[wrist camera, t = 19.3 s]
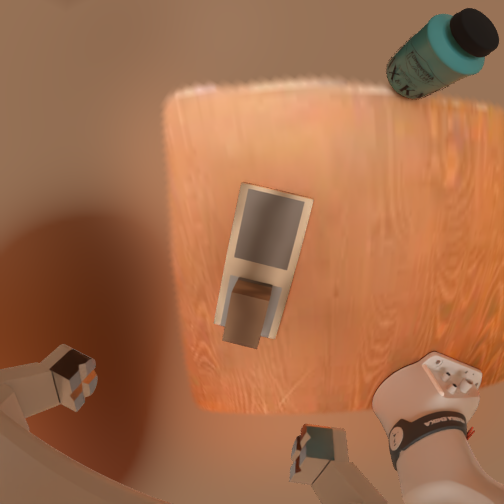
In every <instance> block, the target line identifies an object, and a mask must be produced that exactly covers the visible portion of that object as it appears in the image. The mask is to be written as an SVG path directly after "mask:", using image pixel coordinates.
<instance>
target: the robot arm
mask: <svg viewBox="0 0 504 504" xmlns="http://www.w3.org/2000/svg"><path fill="white" fill-rule="evenodd" d="M437 360H438V361H437ZM436 361H437V362H436ZM95 367H96V365H95V360H94V359H92V358H90V357H88V356H86V355H84V354H82V353H80V352H78V351H76V350H74V349H72V348H70V347H69V346H67V345H65V344H63V345H60V346H59V347H58V348H57V349H56V350H55V351H53V352H52V353H51V354H50V355H49V356H48V357H46V358H45V359H44V360H43V361H42V362H41V363H40V364H39V363H32V364H26V365H22V366H17V367H12V368H6V369H1V370H0V504H172V503H169V502H166V501H163V500H160V499H158V498H155V497H152V496H149V495H147V494H144V493H142V492H139V491H136V490H134V489H132V488H129V487H127V486H125V485H122V484H120V483H118V482H116V481H114V480H112V479H109V478H107V477H105V476H103V475H101V474H99V473H97V472H95V471H93V470H91V469H89V468H87V467H85V466H83V465H82V464H80V463H78V462H76V461H75V460H73V459H71V458H69V457H68V456H66V455H64V454H63V453H61V452H59V451H58V450H56V449H54V448H53V447H51V446H50V445H48V444H46V443H45V442H44V441H42V440H40V439H39V438H38V437H36V436H35V435H33V434H32V433H30V432H29V426H28V424H27V422H26V420H25V418H26V417H29V416H31V415H34V414H37V413H39V412H42V411H45V410H47V409H49V408H52V407H55V406H57V405H59V404H62V405H64V406H66V407H68V408H70V409H72V410H74V411H75V412H77V411H78V410H79V409H80V407H81V406H82V405H83V404H84V403H85V397H87V396H90V395H91V394H92V393H93V391H94V390H95V387H96V385H97V375H96V373H95V371H94V370H93V369H94V368H95ZM481 380H482V372H481V371H480V370H479V369H476V368H474V367H472V366H469V365H467V364H464V363H462V362H459V361H457V360H455V359H452V358H450V357H447V356H445V355H443V354H440V353H438V352H431V353H429V354H428V355H426V356H425V357H424V358H422V359H421V360H420V361H419V362H417V363H415V364H412V365H409V366H407V367H405V368H402V369H400V370H399V371H397V372H395V373H394V374H392V375H391V376H390V377H388V378H387V379H386V380H385V381H384V382H383V383H382V384H381V385H380V387H379V388H378V389H377V391H376V393H375V395H374V397H373V401H372V408H373V411H374V413H375V414H376V416H377V417H378V419H379V420H380V422H381V424H382V426H383V428H384V430H385V432H386V434H387V437H388V439H389V449H390V454H391V459H392V462H393V466H394V468H395V470H396V471H397V472H398V476H399V481H400V486H401V491H402V497H403V502H404V504H504V485H503V484H501V483H498V482H497V481H495V480H494V479H492V478H491V477H490V476H489V475H487V474H486V473H485V471H484V470H483V469H482V468H481V466H480V464H479V463H478V461H477V459H476V457H475V455H474V453H473V451H472V449H471V448H470V445H469V443H468V441H467V440H468V439H469V438H470V437H471V436H472V434H473V433H474V432H475V431H473V432H472V433H471V431H472V429H473V427H471V429H470V430H469V431H468V432H467V423H468V422H469V420H470V419H471V417H472V416H473V414H474V413H475V411H476V409H477V407H478V405H479V401H480V395H479V392H478V388H479V386H480V383H481ZM470 433H471V434H470ZM291 459H292V461H293V462H294V463H293V464H292V466H291V468H290V480H289V481H290V482H294V483H301V484H308V485H311V487H312V488H313V490H314V492H315V493H316V495H317V496H318V498H319V500H320V502H321V503H322V504H388V502H387V500H386V499H385V498H384V497H383V496H382V495H381V494H380V493H379V492H378V491H377V489H376V488H375V487H374V486H373V485H372V484H371V483H370V482H369V480H368V479H367V478H366V477H365V476H364V475H363V474H362V473H361V472H360V470H359V469H358V468H357V467H356V466H355V465H354V463H353V462H349V457H348V449H347V440H346V431H345V430H344V429H341V428H333V427H326V426H319V425H312V424H304V425H303V427H302V428H301V435H300V436H298V437H297V438H296V440H295V442H294V445H293V448H292V454H291Z"/></svg>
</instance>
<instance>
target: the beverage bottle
mask: <svg viewBox="0 0 504 504" xmlns="http://www.w3.org/2000/svg"><path fill="white" fill-rule="evenodd" d="M498 44H499V37H498V33H497V30H496V28H495V27H494V25H493V24H492V22H491V21H490V20H489V19H488V18H487V17H486V16H485V15H484V14H482V13H481V12H480V11H478V10H476V9H472V8H467V9H464V10H462V11H461V12H459V13H456V14H455V15H454V16H451V15H448V14H439V15H436V16H434V17H432V18H431V19H430V20H429V22H428V23H427V24H426V25H425V26H424V27H423V28H422V29H421V30H420V31H419V32H418V33H417V34H416V35H414V36H413V37H412V38H411V39H410V40H409V41H408V42H407V43H406V44H405V45H404V46H403V47H402V48H401V49H400V50H399V51H398V53H396V55H395V56H394V57H393V58H392V57H391V58H392V59H391V60H390V61H389V63H388V64H387V73H386V74H387V78H388V81H389V83H390V85H391V86H392V87H393V89H394V90H395V91H396V92H397V93H399V94H400V95H402V96H404V97H407V98H411V99H414V100H417V98H421V97H423V96H425V97H426V95H427V96H429V95H428V94H430V93H434V92H435V91H438V90H440V89H441V88H443V87H446V86H448V85H450V84H452V83H454V82H456V81H458V80H460V79H463V78H465V77H467V76H470V75H474V74H476V73H478V72H479V71H480V70H481V69H482V67H483V65H484V59H485V56H487V55H489V54H490V53H491V52H492V51H493V50H495V49H496V48H497V46H498ZM430 95H431V94H430ZM423 98H424V97H423Z"/></svg>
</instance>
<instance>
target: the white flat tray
mask: <svg viewBox="0 0 504 504" xmlns="http://www.w3.org/2000/svg"><path fill="white" fill-rule="evenodd" d="M313 201H314V200H313V199H312V198H308V197H304V196H300V195H296V194H292V193H288V192H284V191H280V190H276V189H272V188H267V187H263V186H259V185H254V184H250V183H245V182H242V183H241V187H240V192H239V196H238V201H237V206H236V211H235V216H234V221H233V225H232V230H231V235H230V240H229V245H228V250H227V256H226V261H225V266H224V271H223V276H222V281H221V287H220V292H219V297H218V302H217V308H216V313H215V319H214V324H217V325H221V326H224V327H225V324H226V318H227V313H228V308H229V303H230V297H231V292H232V290H233V288H234V286H235V284H236V282H237V280H238V278H239V277H242V278H246V279H250V280H254V281H259V282H263V283H267V284H271V285H273V286H272V291H271V296H270V300H269V305H268V308H267V312H266V316H265V320H264V324H263V328H262V332H261V336H263V337H267V338H271V339H275V338H276V334H277V331H278V328H279V324H280V321H281V318H282V314H283V311H284V308H285V304H286V301H287V297H288V294H289V290H290V287H291V283H292V280H293V276H294V273H295V269H296V265H297V262H298V258H299V254H300V251H301V247H302V243H303V240H304V236H305V232H306V228H307V224H308V220H309V217H310V213H311V209H312V205H313Z"/></svg>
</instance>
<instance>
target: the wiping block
mask: <svg viewBox="0 0 504 504" xmlns="http://www.w3.org/2000/svg"><path fill="white" fill-rule="evenodd" d="M272 286H273V285H271V284H267V283H263V282H259V281H254V280H250V279H246V278H242V277H239V278H238V280H237V282H236V284H235V286H234V288H233V290H232V292H231V297H230V303H229V308H228V313H227V318H226V324H225V329H224V334H223V340H222V341H226V342H230V343H234V344H238V345H242V346H246V347H250V348H254V349H257V347H258V343H259V340H260V336H261V332H262V328H263V324H264V320H265V316H266V312H267V308H268V305H269V300H270V296H271V291H272Z"/></svg>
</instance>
